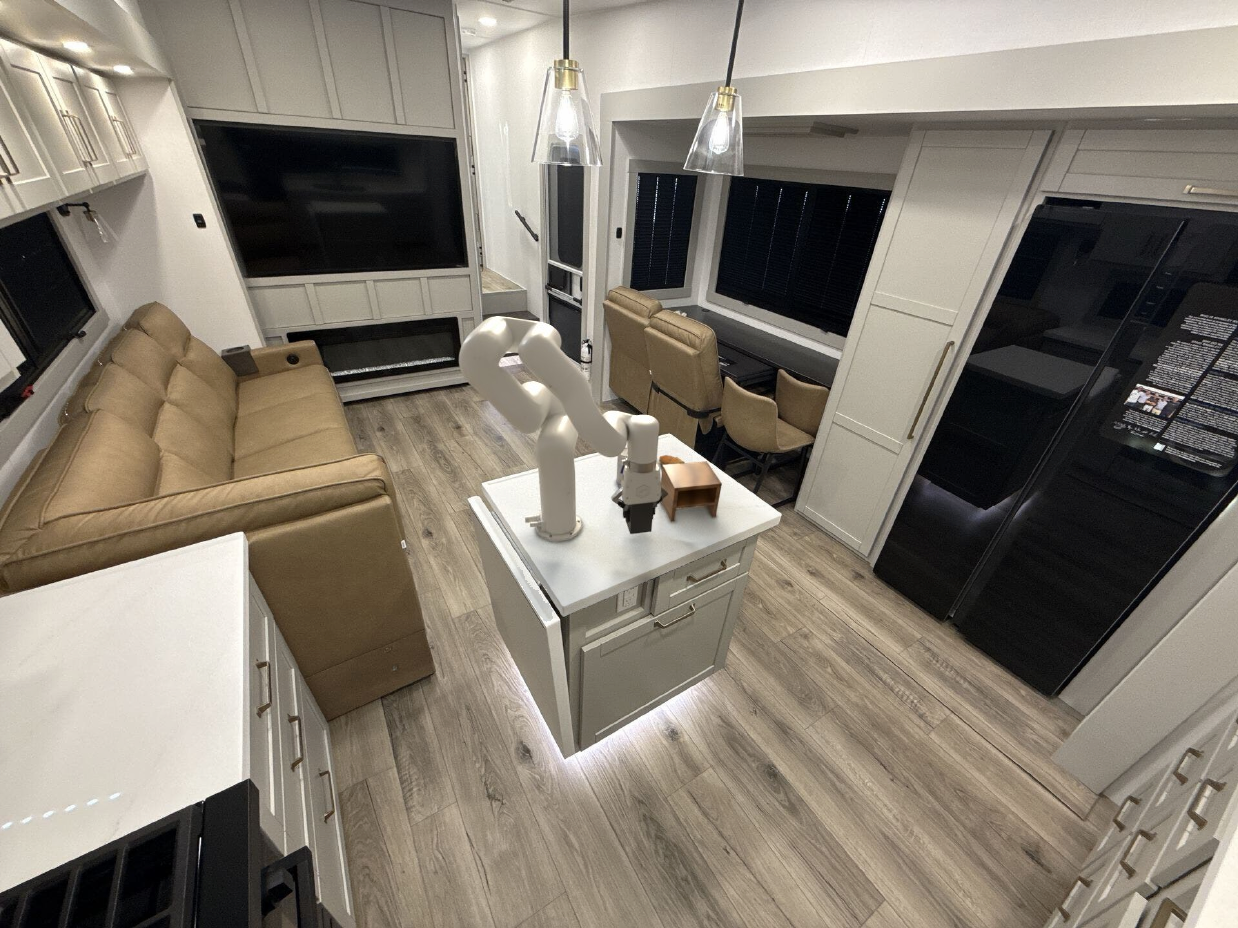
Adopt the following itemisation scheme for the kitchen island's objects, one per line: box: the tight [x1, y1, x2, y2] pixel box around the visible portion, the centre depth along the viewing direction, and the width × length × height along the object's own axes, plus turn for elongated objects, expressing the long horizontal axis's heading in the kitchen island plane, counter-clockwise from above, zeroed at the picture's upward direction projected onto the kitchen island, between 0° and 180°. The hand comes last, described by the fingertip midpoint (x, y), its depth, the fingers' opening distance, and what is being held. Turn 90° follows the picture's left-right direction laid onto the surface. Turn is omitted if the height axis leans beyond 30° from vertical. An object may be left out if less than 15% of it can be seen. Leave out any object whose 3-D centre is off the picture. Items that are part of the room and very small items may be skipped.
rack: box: [660, 461, 723, 523], centre depth 143 cm, size 14×12×12 cm
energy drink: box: [616, 447, 628, 488], centre depth 152 cm, size 5×5×12 cm
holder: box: [624, 502, 654, 535], centre depth 131 cm, size 6×6×10 cm
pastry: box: [658, 454, 686, 466], centre depth 164 cm, size 9×7×4 cm
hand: (638, 517), depth 132 cm, fingers closed on holder, 6 cm apart
